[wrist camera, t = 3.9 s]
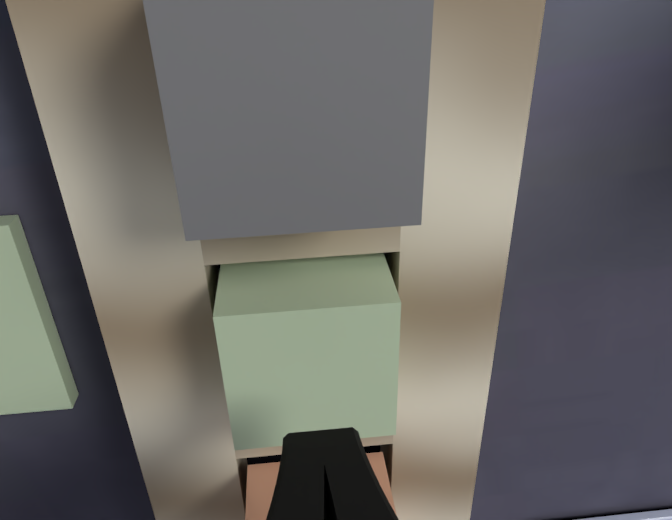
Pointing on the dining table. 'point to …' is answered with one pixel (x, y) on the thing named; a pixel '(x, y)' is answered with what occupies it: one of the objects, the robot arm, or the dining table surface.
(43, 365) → the tile
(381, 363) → the key sage
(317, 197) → the key charcoal
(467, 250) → the key console
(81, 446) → the dining table surface
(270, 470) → the key terracotta
